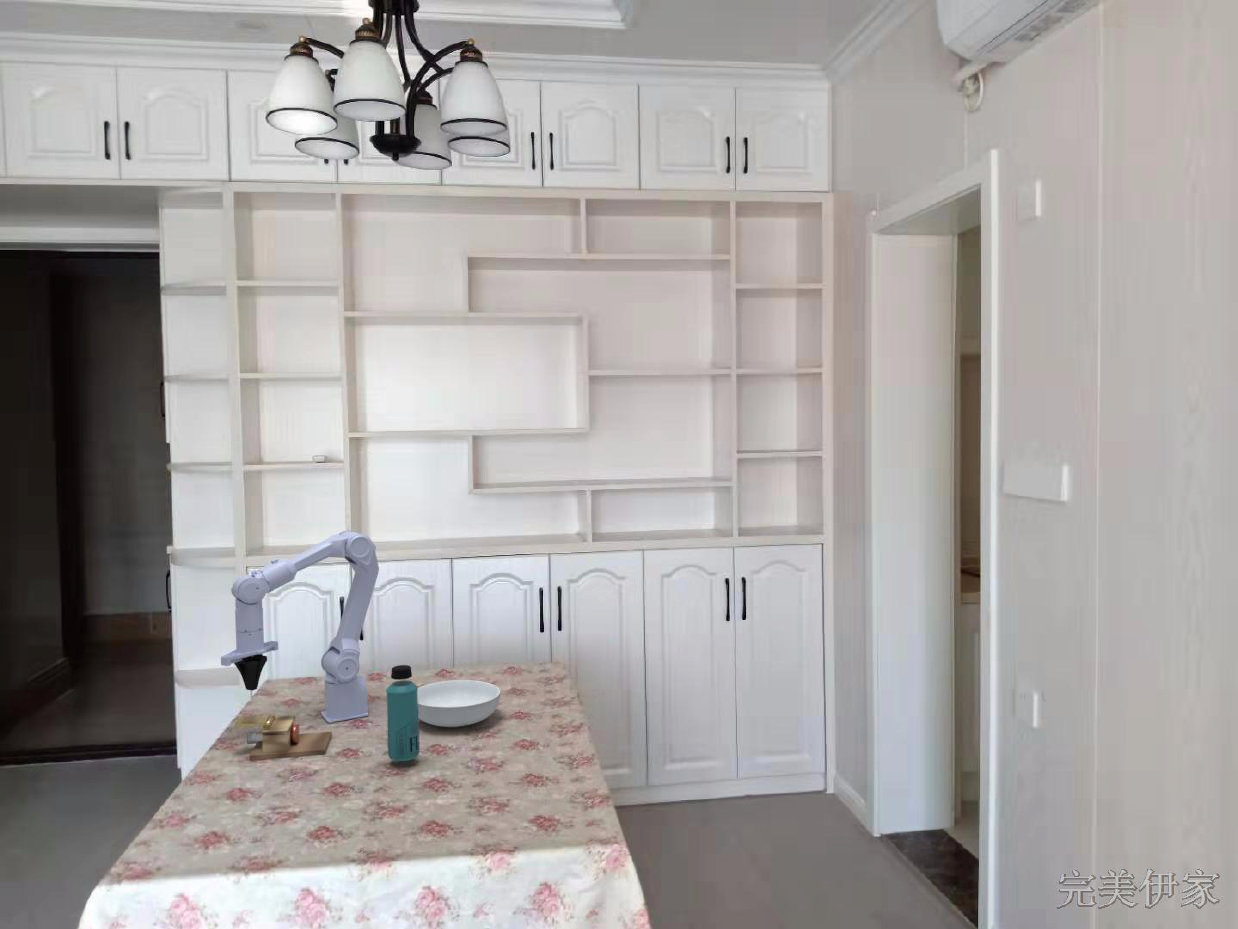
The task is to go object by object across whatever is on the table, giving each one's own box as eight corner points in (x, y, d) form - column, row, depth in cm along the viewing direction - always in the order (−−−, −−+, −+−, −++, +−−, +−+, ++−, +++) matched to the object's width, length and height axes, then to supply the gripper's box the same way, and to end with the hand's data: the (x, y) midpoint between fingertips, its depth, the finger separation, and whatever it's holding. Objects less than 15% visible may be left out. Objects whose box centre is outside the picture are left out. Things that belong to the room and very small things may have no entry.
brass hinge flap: (273, 720, 187) (274, 716, 187) (269, 727, 183) (269, 722, 183) (239, 720, 186) (239, 715, 186) (234, 727, 181) (234, 722, 181)
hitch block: (331, 736, 193) (331, 707, 193) (325, 754, 182) (324, 724, 182) (260, 741, 190) (259, 712, 190) (249, 760, 179) (248, 729, 179)
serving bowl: (493, 737, 191) (492, 706, 191) (399, 737, 192) (398, 707, 192) (507, 706, 212) (506, 678, 212) (422, 706, 213) (422, 679, 212)
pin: (299, 739, 188) (299, 722, 188) (296, 745, 184) (296, 728, 184) (250, 743, 186) (249, 725, 186) (246, 749, 182) (245, 731, 182)
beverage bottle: (412, 770, 174) (409, 672, 173) (381, 767, 175) (379, 670, 174) (425, 757, 180) (423, 663, 179) (396, 755, 181) (394, 661, 180)
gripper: (237, 638, 185) (239, 701, 185) (287, 623, 198) (289, 682, 199) (212, 635, 187) (215, 697, 188) (264, 621, 201) (266, 678, 201)
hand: (251, 689), depth 193 cm, fingers closed
